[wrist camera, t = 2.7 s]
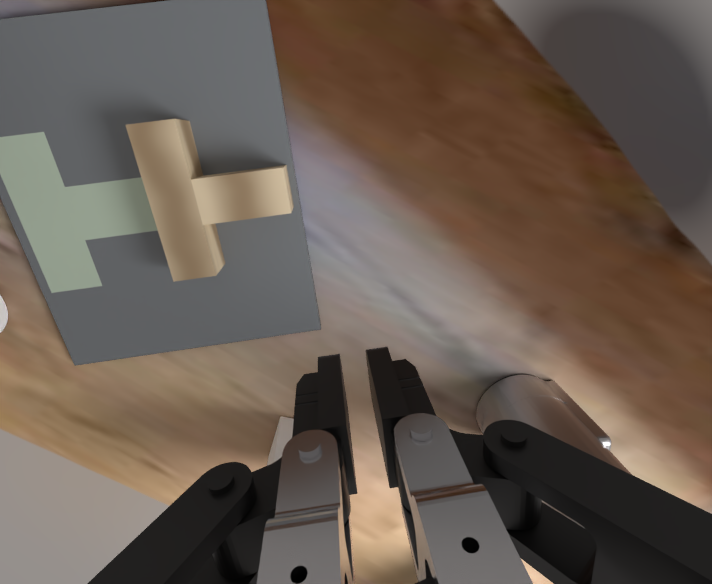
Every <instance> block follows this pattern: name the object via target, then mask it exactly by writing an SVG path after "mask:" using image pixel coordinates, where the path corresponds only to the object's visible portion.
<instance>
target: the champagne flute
mask: <svg viewBox="0 0 712 584" xmlns="http://www.w3.org/2000/svg"><path fill="white" fill-rule="evenodd" d="M7 320H8V311H7V307H6V304H5V302H4V300H3V299H2V297H1V296H0V333H1V332H2V330H3V329H4V328H5V326H6V324H7Z"/></svg>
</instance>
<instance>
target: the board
mask: <svg viewBox="0 0 712 584" xmlns="http://www.w3.org/2000/svg"><path fill="white" fill-rule="evenodd" d="M168 119H180V120H187V121H190V125H191V129H192V133H193V137H194V141H195V145H196V149H197V153H198V157H199V161H200V165H201V169H202V173H203V176H205V175H212V174H220V173H228V172H236V171H243V170H251V169H259V168H267V167H274V166H282V165H287V171H288V177H289V182H290V188H291V194H292V199H293V205H294V207H293V210H292V212H291V213H290V214H282V215H275V216H267V217H260V218H252V219H245V220H238V221H230V222H223V223H215V224H216V228H217V232H218V236H219V240H220V244H221V248H222V252H223V256H224V260H225V265H224V266H223V267H222V269H221V270H220V271H219V273H218V274H217V275H216V276H211V277H203V278H196V279H189V280H182V281H175V282H174V281H173V278H172V275H171V272H170V268H169V265H168V262H167V259H166V255H165V252H164V249H163V246H162V242H161V239H160V236H159V233H158V229H157V226H156V223H155V220H154V216H153V213H152V210H151V207H150V203H149V200H148V197H147V194H146V190H145V187H144V184H143V181H142V177H141V174H140V171H139V168H138V164H137V161H136V158H135V155H134V151H133V148H132V145H131V142H130V138H129V135H128V132H127V129H126V125H128V124H136V123H144V122H152V121H160V120H168ZM0 198H1V200H2V202H3V205H4V207H5V209H6V211H7V214H8V216H9V218H10V220H11V223H12V225H13V227H14V229H15V232H16V234H17V236H18V239H19V241H20V243H21V245H22V248H23V250H24V252H25V254H26V257H27V259H28V261H29V263H30V266H31V268H32V270H33V272H34V275H35V277H36V279H37V281H38V284H39V286H40V288H41V290H42V293H43V295H44V297H45V299H46V302H47V304H48V306H49V308H50V311H51V313H52V315H53V318H54V320H55V322H56V324H57V327H58V329H59V331H60V333H61V336H62V338H63V340H64V342H65V345H66V347H67V349H68V351H69V354H70V356H71V358H72V360H73V363H74V365H82V364H89V363H95V362H102V361H109V360H116V359H123V358H129V357H136V356H143V355H150V354H157V353H163V352H170V351H177V350H184V349H191V348H198V347H204V346H211V345H218V344H225V343H232V342H238V341H245V340H252V339H259V338H266V337H272V336H279V335H286V334H293V333H300V332H306V331H313V330H320V329H321V324H320V318H319V312H318V306H317V300H316V294H315V288H314V282H313V276H312V271H311V265H310V259H309V253H308V247H307V241H306V235H305V229H304V223H303V217H302V211H301V205H300V199H299V193H298V187H297V181H296V176H295V170H294V164H293V158H292V152H291V146H290V140H289V134H288V128H287V122H286V116H285V110H284V104H283V98H282V92H281V87H280V81H279V75H278V69H277V63H276V57H275V51H274V45H273V39H272V33H271V27H270V21H269V15H268V9H267V3H266V0H168V1H159V2H150V3H141V4H132V5H123V6H114V7H105V8H96V9H87V10H78V11H69V12H60V13H51V14H42V15H34V16H25V17H16V18H7V19H0Z"/></svg>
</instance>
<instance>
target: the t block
mask: <svg viewBox="0 0 712 584" xmlns="http://www.w3.org/2000/svg"><path fill="white" fill-rule="evenodd" d="M126 129H127V132H128V135H129V138H130V142H131V145H132V148H133V151H134V155H135V158H136V161H137V164H138V168H139V171H140V174H141V177H142V181H143V184H144V187H145V190H146V194H147V197H148V200H149V203H150V207H151V210H152V213H153V216H154V220H155V223H156V226H157V229H158V233H159V236H160V239H161V242H162V246H163V249H164V252H165V255H166V259H167V262H168V265H169V268H170V272H171V275H172V278H173V281H174V282H175V281H182V280H189V279H196V278H203V277H211V276H216V275H217V274H218V273H219V271H220V270H221V269H222V267H223V266H224V265H225V260H224V256H223V252H222V248H221V244H220V240H219V236H218V232H217V228H216V224H215V223H223V222H230V221H238V220H245V219H252V218H260V217H267V216H275V215H282V214H290V213H291V212H292V210H293V207H294V205H293V199H292V194H291V188H290V182H289V177H288V171H287V165H282V166H274V167H267V168H259V169H251V170H243V171H236V172H228V173H220V174H212V175H205V176H203V173H202V169H201V165H200V161H199V157H198V153H197V149H196V145H195V141H194V137H193V133H192V129H191V125H190V121H187V120H180V119H168V120H160V121H152V122H144V123H136V124H128V125H126Z"/></svg>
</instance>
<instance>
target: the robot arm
mask: <svg viewBox="0 0 712 584" xmlns="http://www.w3.org/2000/svg"><path fill="white" fill-rule="evenodd" d="M366 358H367V366H368V374H369V382H370V390H371V397H372V403H373V409H374V413H375V418H376V423H377V428H378V433H379V438H380V443H381V447H382V452H383V457H384V462H385V467H386V472H387V476H388V481H389V486H390V488H394V487H398V488H399V493H400V497H401V505H402V514H403V518H404V522H405V527H406V531H407V535H408V540H409V544H410V548H411V553H412V557H413V561H414V565H415V570H416V574H417V578H418V583H415V584H533V583H532V581H531V579H530V577H529V575H528V573H527V571H526V569H525V567H524V565H523V563H522V561H521V559H523V560H524V561H525V562H527V563H528V564H529V565H530V566H532V567H533V568H534V569H536V570H537V571H538V572H540V573H541V574H542V575H543V576H545V577H546V578H547V579H549V580H550V581H551V582H553V583H554V584H712V514H710V513H708V512H706V511H704V510H702V509H700V508H698V507H696V506H694V505H692V504H690V503H688V502H686V501H684V500H682V499H680V498H678V497H676V496H674V495H672V494H670V493H668V492H666V491H663V490H661V489H659V488H657V487H655V486H653V485H651V484H649V483H647V482H645V481H643V480H641V479H639V478H637V477H635V476H633V475H632V474H631V473H630V472H629V471H628V470H627V469H626V468H625V467H624V466H623V465H622V464H621V463H620V461H619V460H618V459H617V458H616V457H615V456H614V455H613V454H612V453H611V452H610V448H611V439H610V438H609V436H608V435H607V434H606V433H605V432H604V431H603V430H602V429H601V428H600V427H599V426H598V425H597V424H596V423H595V422H594V421H593V420H592V419H591V418H590V417H589V416H588V415H587V414H586V413H585V412H584V411H583V410H582V409H581V408H580V407H579V406H578V405H577V404H576V403H575V402H574V401H573V399H572V398H571V397H570V396H569V395H568V394H567V393H566V392H565V391H564V390H563V389H562V388H561V387H560V386H559V385H558V384H557V383H556V382H555V381H544V380H541V379H540V378H538V377H535V376H531V375H515V376H510V377H507V378H504V379H502V380H500V381H498V382H496V383H495V384H494V385H492V386H491V387H490V388H489V389H488V390H487V391H486V392H485V393H484V394H483V396H482V397H481V399H480V401H479V403H478V406H477V411H476V418H477V423H478V425H479V427H480V429H481V431H482V433H483V435H474V434H465V433H460V432H456V431H453V430H451V429H449V428H448V426H447V425H446V423H445V422H444V421H443V420H441V419H440V418H438V417H437V416H436V414H435V412H434V410H433V407H432V405H431V403H430V400H429V398H428V396H427V393H426V391H425V388H424V386H423V384H422V381H421V379H420V378H419V374H418V372H417V370H416V367H415V366H414V365H412V364H411V363H410V362H408V361H407V360H406V359H403V360H396V361H392V359H391V356H390V353H389V350H388V348H387V347H382V348H376V349H369V350H366ZM351 494H357V487H356V478H355V469H354V460H353V451H352V442H351V433H350V423H349V414H348V406H347V399H346V392H345V385H344V379H343V372H342V366H341V359H340V354H336V355H329V356H322V357H318V372H317V373H310V374H304V375H303V376H302V378H301V379H300V381H299V382H298V384H297V388H296V399H295V410H294V422H293V433H292V438H291V439H290V440H289V441H288V442H287V444H286V445H285V447H284V449H283V453H282V457H281V458H280V459H278V460H277V461H275V462H274V463H272V464H270V465H268V466H266V467H263V468H261V469H259V470H256V471H254V472H252V473H251V470H250V469H249V468H248V467H247V466H246V465H244V464H242V463H238V462H229V463H224V464H221V465H218V466H216V467H214V468H212V469H210V470H209V471H207V472H206V473H205V474H203V475H202V476H201V477H200V478H199V479H198V480H197V481H196V482H195V483H194V484H193V485H192V486H191V487H190V488H188V489H187V490H186V491H185V492H184V493H183V494H182V495H181V496H180V497H179V498H178V499H177V500H176V501H175V502H174V503H173V504H171V505H170V506H169V507H168V508H167V509H166V510H165V511H164V512H163V513H162V514H161V515H160V516H159V517H158V518H157V519H156V520H155V521H153V522H152V523H151V524H150V525H149V526H148V527H147V528H146V529H145V530H144V531H143V532H142V533H141V534H140V535H139V536H138V537H137V538H135V539H134V540H133V541H132V542H131V543H130V544H129V545H128V546H127V547H126V548H125V549H124V550H123V551H122V552H121V553H120V554H118V555H117V556H116V557H115V558H114V559H113V560H112V561H111V562H110V563H109V564H108V565H107V566H106V567H105V568H104V569H103V570H102V571H100V572H99V573H98V574H97V575H96V576H95V577H94V578H93V579H92V580H91V581H90V582H89V583H88V584H355V573H354V560H353V547H352V534H351V522H350V516H349V515H350V496H349V495H351ZM520 558H521V559H520Z"/></svg>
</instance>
